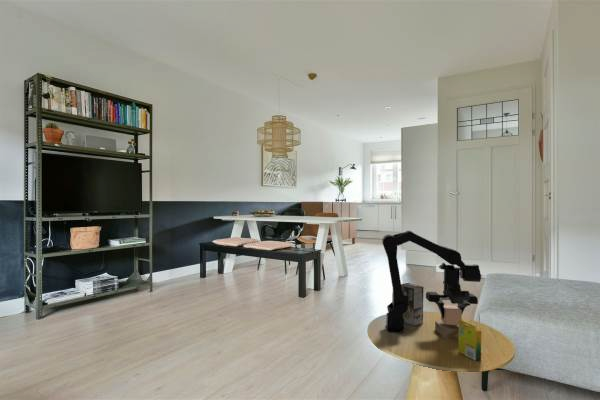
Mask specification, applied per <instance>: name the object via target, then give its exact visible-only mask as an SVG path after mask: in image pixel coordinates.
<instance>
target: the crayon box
mask: <svg viewBox="0 0 600 400" xmlns="http://www.w3.org/2000/svg"><path fill="white" fill-rule="evenodd" d="M458 353H460V354H462V355H463V356H466V357H467V358H470V359H472V360H473V361H479V360H482V330H479V329H477V327H476V325H473V324H471V323H469V322H466V321H463V320H462V319H461V320H459V339H458Z"/></svg>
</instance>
